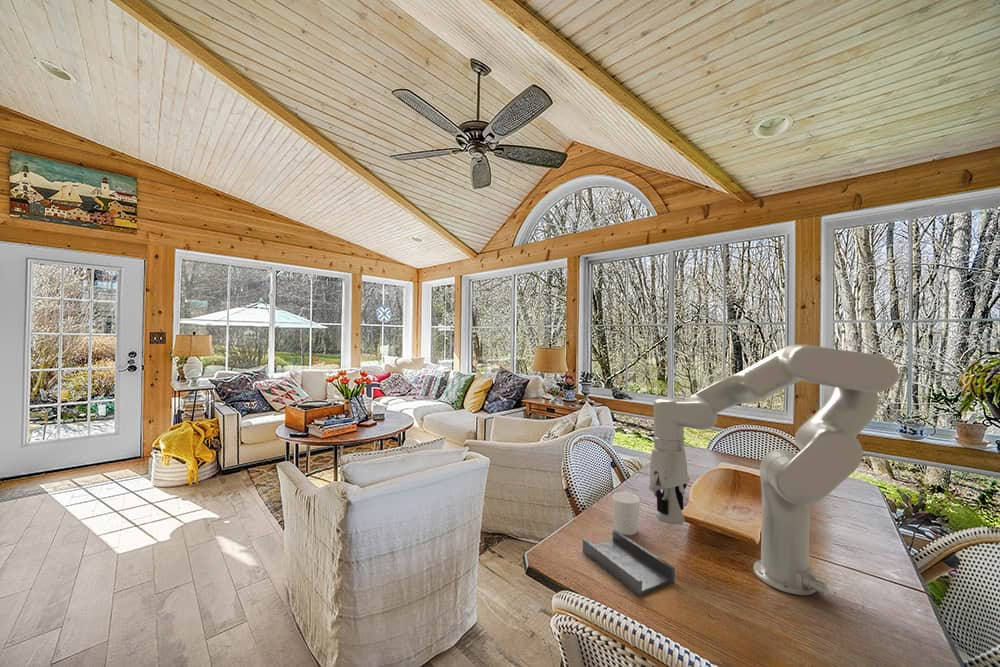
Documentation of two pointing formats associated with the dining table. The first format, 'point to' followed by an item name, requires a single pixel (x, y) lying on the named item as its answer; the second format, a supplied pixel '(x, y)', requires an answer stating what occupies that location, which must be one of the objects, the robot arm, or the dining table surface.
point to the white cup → (626, 513)
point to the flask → (672, 510)
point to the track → (630, 564)
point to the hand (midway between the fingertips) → (670, 509)
